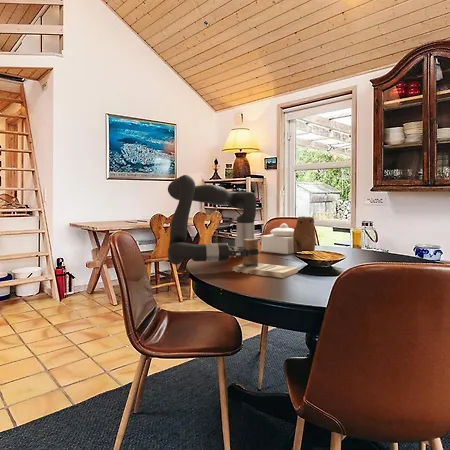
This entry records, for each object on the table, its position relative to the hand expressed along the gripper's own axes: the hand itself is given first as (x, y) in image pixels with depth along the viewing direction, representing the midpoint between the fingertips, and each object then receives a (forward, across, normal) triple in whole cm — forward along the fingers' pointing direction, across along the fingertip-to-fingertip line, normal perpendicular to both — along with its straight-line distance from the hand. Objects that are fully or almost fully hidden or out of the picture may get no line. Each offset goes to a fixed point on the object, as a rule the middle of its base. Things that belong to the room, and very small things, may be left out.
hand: (256, 251), depth 162 cm
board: (+2, -5, +8) cm, 10 cm away
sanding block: (-3, 0, +6) cm, 7 cm away
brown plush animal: (+36, +37, +8) cm, 52 cm away
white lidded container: (+29, +51, +8) cm, 60 cm away
